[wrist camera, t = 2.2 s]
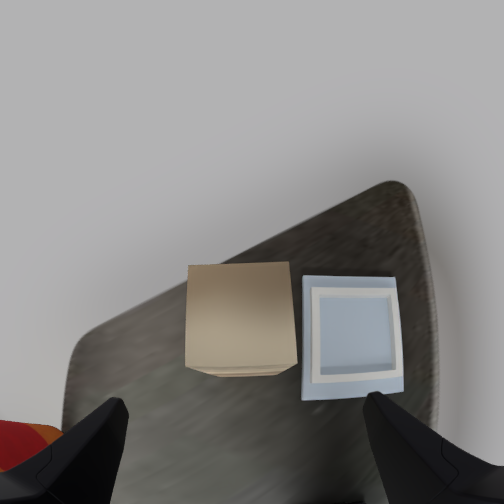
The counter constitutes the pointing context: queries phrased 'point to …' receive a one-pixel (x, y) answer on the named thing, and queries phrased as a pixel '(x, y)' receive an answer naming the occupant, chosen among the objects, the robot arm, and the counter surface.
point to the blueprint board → (350, 337)
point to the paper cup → (23, 441)
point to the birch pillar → (240, 319)
